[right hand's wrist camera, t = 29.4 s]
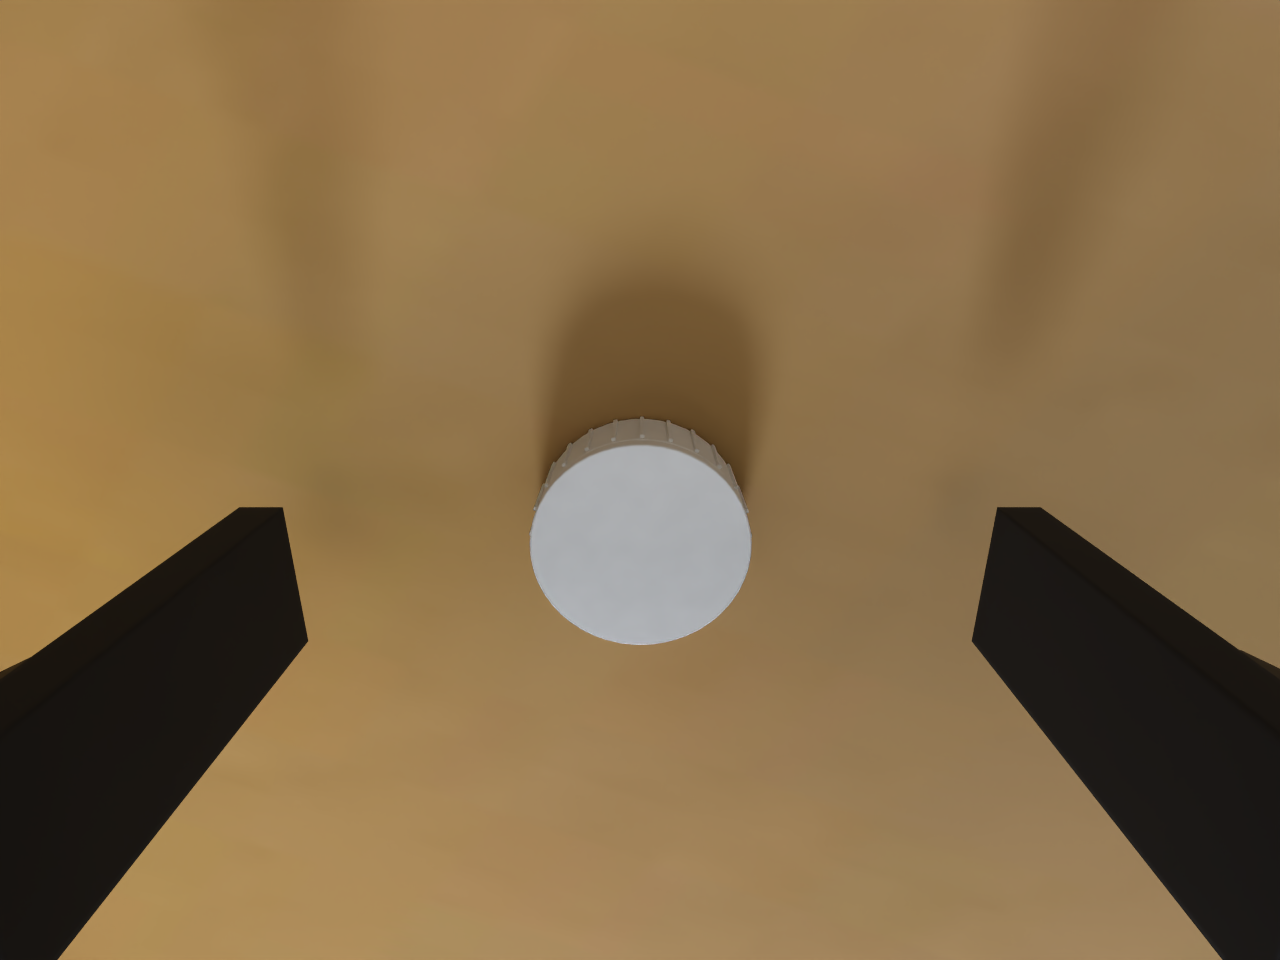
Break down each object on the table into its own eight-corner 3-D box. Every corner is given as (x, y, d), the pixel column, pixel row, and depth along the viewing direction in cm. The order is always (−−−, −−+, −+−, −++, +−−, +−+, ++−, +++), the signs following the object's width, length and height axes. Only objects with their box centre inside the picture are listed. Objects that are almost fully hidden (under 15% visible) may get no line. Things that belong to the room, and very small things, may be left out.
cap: (779, 469, 15) (797, 501, 13) (684, 630, 16) (689, 678, 15) (590, 380, 14) (584, 402, 13) (509, 555, 16) (493, 596, 14)
